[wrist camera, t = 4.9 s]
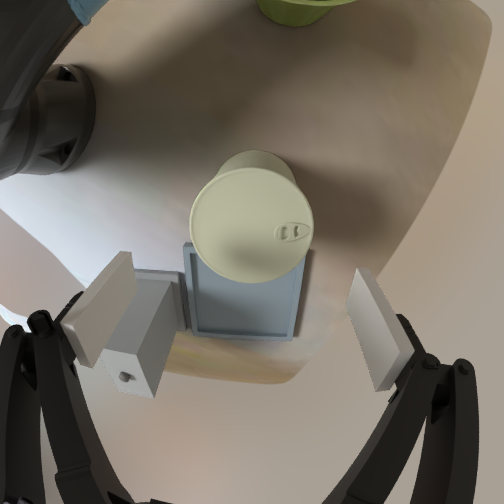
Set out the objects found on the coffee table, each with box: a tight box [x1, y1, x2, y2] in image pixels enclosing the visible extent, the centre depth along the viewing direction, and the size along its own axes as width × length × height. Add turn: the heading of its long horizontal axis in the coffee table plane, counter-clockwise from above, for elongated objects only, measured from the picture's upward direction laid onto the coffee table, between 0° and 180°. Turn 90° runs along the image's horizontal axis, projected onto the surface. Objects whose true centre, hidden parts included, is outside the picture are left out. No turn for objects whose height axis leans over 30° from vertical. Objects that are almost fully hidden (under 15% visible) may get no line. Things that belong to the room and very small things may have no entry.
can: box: [189, 150, 314, 283], centre depth 24 cm, size 9×9×12 cm
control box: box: [99, 269, 187, 398], centre depth 31 cm, size 10×7×15 cm
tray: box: [183, 243, 306, 341], centre depth 36 cm, size 15×15×1 cm
